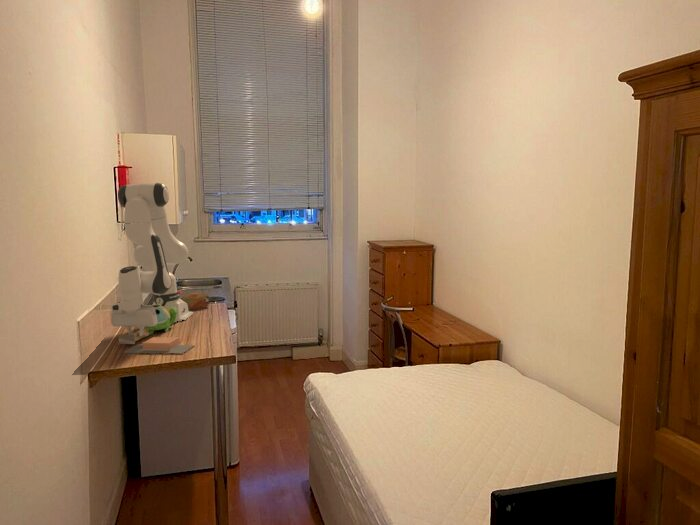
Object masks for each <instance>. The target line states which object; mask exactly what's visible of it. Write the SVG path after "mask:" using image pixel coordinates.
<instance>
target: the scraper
mask: <svg viewBox="0 0 700 525" xmlns="http://www.w3.org/2000/svg"><path fill="white" fill-rule="evenodd" d="M139 330H140V329H139ZM139 330H136V331H134V333H131V334H129V333H127V334H125V333H124V334H123V333H120V334H118V344H119V345H135V344H136V342H137V341H139V340H141V339H143V338H146V337H148V336H150V335H149V328H144V329H143V331H142V333H143V335H142V336H137V332H139Z"/></svg>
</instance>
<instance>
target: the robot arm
mask: <svg viewBox="0 0 700 525" xmlns="http://www.w3.org/2000/svg"><path fill="white" fill-rule="evenodd" d="M169 199H170V192H169V190H168V187H167V186H166V185H165V184H164V183H161V182H160V183H159V182H156V183H151V182H141V183H135V184H124V185H121V186H120V187H119V189H118V191H117V200H118V202H119V205H120V206H121V207H123V208H124V214H123V215H124V216H123V217H124V218H123V219H124V232H125V235H126V237H127V238H128V240H130V242H132V243H134V244H136V245H137V246H136V247H135V249H134V251H133V258H134V261H135V262H136V263H137V264H138V265H139V266H141V267H142V268H143V269H144V271H143V270H140V269H139V268H138V267H137V266H134V265H132V266H129V265H128V266H126V267H123V268H121V269H119V273H118V289H119V291H120V301H119V302H116V303H114V304H111V305H110V307H109V308H110V310H111V312H110V324H111V326H113V327H125V330H126V332H128V334H131V333H134V332H135V331H133V330H132V327H138V329H139V332H137V336H142V335H143V333H142V331H143V329H144V326H145V327H152V326H155V325H156V324H157V322H158V321H157V316H156V312H155V307H154V306H152V305H157V304H159V305H161V306H162V307H163V308H165V309H166V310H167V312H168V313H169V310H170V309H171V308H172V307H175V308H176V310H177V311H178V313H177V314H176V319H175V321H174V323H178V322H183V321H182V320H185V321H186V319H187V318H188V319H189V318H191V316H193V315H194V312H193V311H190V310H189V309H188V305H187V303H186V302H184V301H183V300H182V298H181V296H180V295H182V294H183V292H182V290H178V288H177V287H178V286H177V280H176V276H175V275H174V274H173V273H172V272H170V271H169V270H168V265H172V266H173V265H179V264H182V263H185V262H186V261H187V260H188V258H189V252H190V251H189V249H188V247H187V245H186V244H185V242H181V241H180V240H178V239H177V237H175V235H174V234H173V233H172V231H171V228H170V225H169V220H168V215H167V211H166V205H167V204H168V202H169ZM143 294H152V301H153V303H152V304H144V296H143ZM169 316H170V313H169ZM188 319H187V320H188ZM177 321H178V322H177Z"/></svg>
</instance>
